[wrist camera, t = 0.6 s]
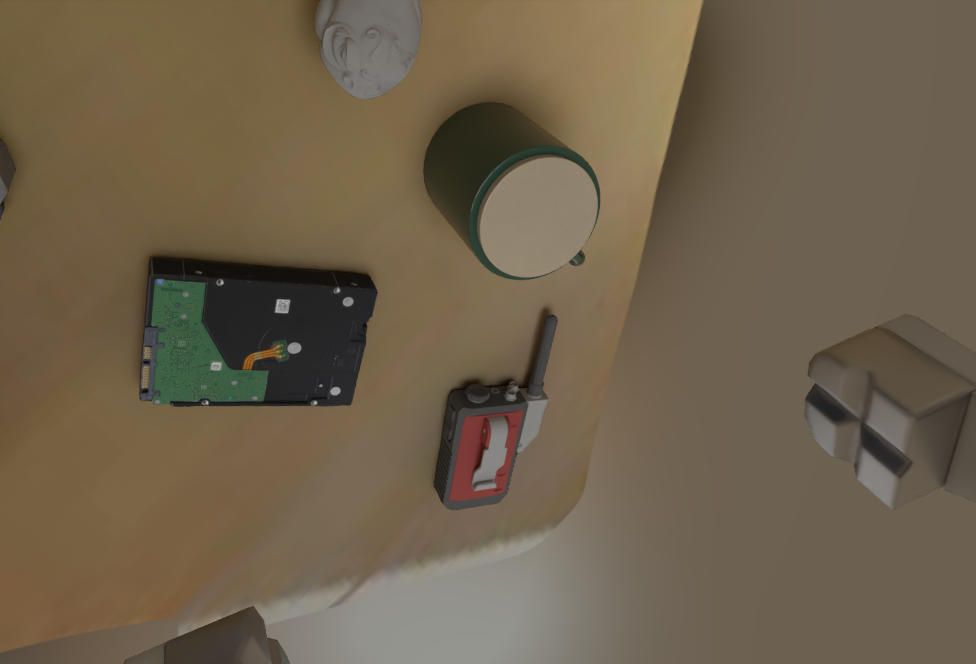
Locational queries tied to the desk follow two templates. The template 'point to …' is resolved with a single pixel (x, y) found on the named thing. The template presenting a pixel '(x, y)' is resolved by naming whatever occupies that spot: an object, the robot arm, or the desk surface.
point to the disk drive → (252, 335)
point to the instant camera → (5, 174)
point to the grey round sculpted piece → (368, 42)
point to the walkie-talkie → (490, 434)
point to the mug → (512, 191)
